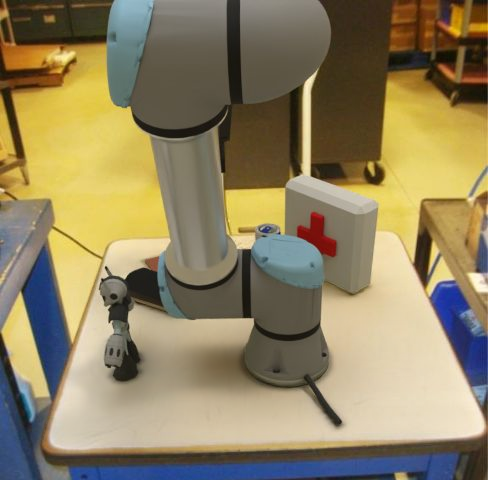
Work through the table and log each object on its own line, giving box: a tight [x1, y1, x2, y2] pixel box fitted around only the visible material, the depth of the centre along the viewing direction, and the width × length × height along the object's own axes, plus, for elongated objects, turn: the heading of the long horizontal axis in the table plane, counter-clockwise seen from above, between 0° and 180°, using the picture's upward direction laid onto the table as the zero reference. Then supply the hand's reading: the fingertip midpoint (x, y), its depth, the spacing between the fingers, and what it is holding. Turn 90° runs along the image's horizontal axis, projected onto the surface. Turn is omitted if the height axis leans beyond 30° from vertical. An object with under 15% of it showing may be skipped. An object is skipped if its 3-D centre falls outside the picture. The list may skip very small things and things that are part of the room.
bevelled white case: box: [284, 173, 379, 295], centre depth 130 cm, size 21×8×20 cm, turn 42°
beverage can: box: [254, 222, 282, 242], centre depth 127 cm, size 5×5×15 cm
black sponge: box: [124, 266, 167, 312], centre depth 129 cm, size 16×8×4 cm, turn 59°
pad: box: [144, 255, 160, 272], centre depth 144 cm, size 8×20×1 cm, turn 116°
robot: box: [98, 265, 141, 382], centre depth 106 cm, size 20×5×20 cm, turn 2°
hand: (218, 172), depth 127 cm, fingers closed
